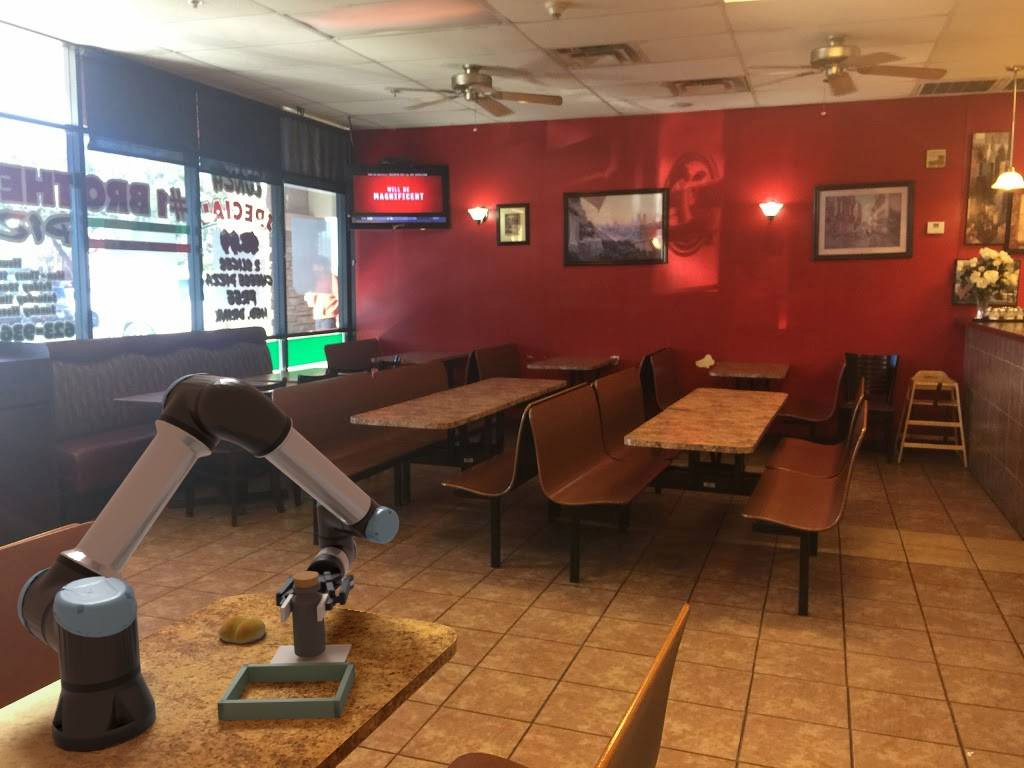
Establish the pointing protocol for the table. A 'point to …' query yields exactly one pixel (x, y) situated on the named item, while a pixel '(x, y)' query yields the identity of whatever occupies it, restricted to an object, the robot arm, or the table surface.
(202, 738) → the table surface
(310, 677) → the green rectangular frame
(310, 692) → the table surface
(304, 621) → the bottle
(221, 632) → the bread roll
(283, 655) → the tile
